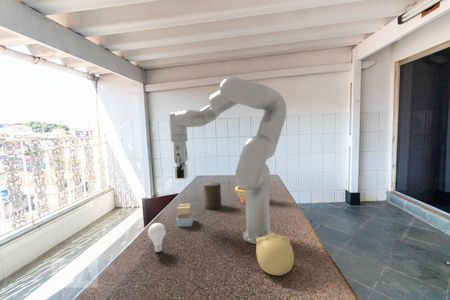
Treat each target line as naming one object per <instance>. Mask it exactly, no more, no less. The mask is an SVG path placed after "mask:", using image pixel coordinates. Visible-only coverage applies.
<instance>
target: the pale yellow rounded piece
mask: <svg viewBox="0 0 450 300" xmlns="http://www.w3.org/2000/svg"><path fill="white" fill-rule="evenodd" d="M256 242H257V244H255V246H256V248H255V253H256V259H257V263H258V265H259V267H260V268H261V270H263V272H265V273H267V274H268V275H273V276H283V275H286V274H287V273H289V272H290V271H291V269H292V268H293V266H294V263H295V254H294V249H293V247H292V244H291V237H289V236H286V235H281V234H279V233H278V234H277V233H275V232H273V233H270V234H268V235H267V236H263V237H259V238H257V239H256Z"/></svg>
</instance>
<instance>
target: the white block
mask: <svg viewBox="0 0 450 300" xmlns="http://www.w3.org/2000/svg"><path fill="white" fill-rule="evenodd" d="M183 169H184V178H177V164H176V165H175V166H174V176H175V180H182V179H183V180H185V179H186V180H187V178H188V177H189V173H188V164H187V163H185V164H183Z"/></svg>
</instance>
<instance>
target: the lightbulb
mask: <svg viewBox="0 0 450 300" xmlns="http://www.w3.org/2000/svg"><path fill="white" fill-rule="evenodd" d="M147 235H148V238H149V239H150V240H151V241H152V244H153V247H154V252H156V253H160V252H161V251H162V250H163V248H162V247H163V246H162V245H163V239H164V237H165V235H166V227H165V225H164V224H163V223H161V222H155V223H152V224H151V225H150V226H149V228H148V230H147Z"/></svg>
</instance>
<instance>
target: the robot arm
mask: <svg viewBox="0 0 450 300" xmlns="http://www.w3.org/2000/svg"><path fill="white" fill-rule="evenodd" d="M208 100H209V104H208V105H206V106H205V107H203V108H201V109H200V110H194V109H193V110H192V109H187V110H186V109H184V110H182V111H173V112H170V113H169V125H170V126H169V128H170V129H169V130H170V142H171V143H173V159H174V163H175V164H176V165H177V178H184V169H183V164H186V163H187V162H188V161H189V156H188V148H187V142H188V141H189V140H188V128H194V127H195V128H199V127H204V126H206V125H207V124H209V123H211V122H213V121H215V120H216V119H217V118H218V117H219V116H220V115H221V114H222V113H224V112H226V111H228V110H229V109H231V108H232V107H235V106H236V105H237V106H238V104H240V105H243V106H245V107H249V108H253V109H256V110H263V115H262V118H261V120H260V123H259V126H258V129H257V132H256V134H255V135H254V136H252V137H250V138H248V139H247V140H246V141H245V143H244V145H243V146H242V150H241V154H240V156H239V159H238V163H237V167H236V169H235V175H234V177H235V182H236V184H237V186H239V187H240V188H242V189H244V190H245V203H244V204H245V226H246V230H245V231H244V232H243V233H242V238H243V240H244V241H245V242H247V243H250V244H253V245H256V244H257V242H256V239H257V238H259V237H263V236H267V235H268V234H270V233H274V232H273V231H272V230H271V219H270V181H271V172H270V168H269V166H268V165H267V163H266V162H267V160H269V159H271V158H272V157H273V156H274V154H275V153H276V149H277V146H278V143H279V141H280V137H281V134H282V130H283V127H284V123H285V120H286V117H287V116H286V115H287V111H288V109H287V104H286V102H285V99H284V97H283V96H282V95H281V94H280V93H279V92H278V91H277V90H276V89H274V88H272V87H270V86H268V85H264V84H262V83H258V82H254V81H251V80H246V79H243V78H240V77H236V76H228V77H225V78H224V79H223V80H222V81H221V83H220V85H219V90H217V91H215V92H214V93H212V94H211V95H210V96H209V99H208Z"/></svg>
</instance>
